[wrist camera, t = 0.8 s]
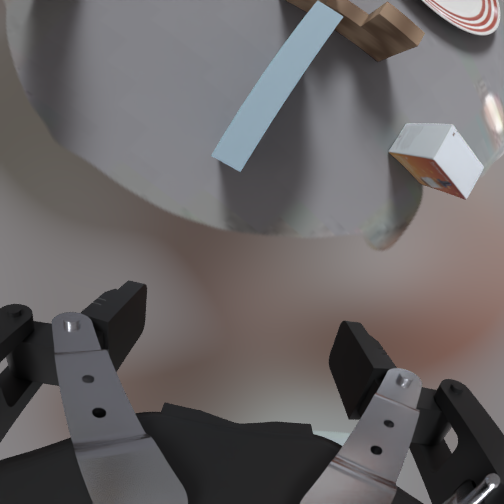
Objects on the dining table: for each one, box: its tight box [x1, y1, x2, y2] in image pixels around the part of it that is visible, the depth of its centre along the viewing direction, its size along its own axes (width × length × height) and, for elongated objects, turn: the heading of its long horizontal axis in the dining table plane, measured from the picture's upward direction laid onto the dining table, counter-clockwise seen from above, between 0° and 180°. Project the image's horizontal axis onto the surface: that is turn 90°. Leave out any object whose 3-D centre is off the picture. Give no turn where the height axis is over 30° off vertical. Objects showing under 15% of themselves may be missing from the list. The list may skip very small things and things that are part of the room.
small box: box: [388, 123, 484, 200], centre depth 32 cm, size 8×6×10 cm
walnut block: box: [286, 0, 425, 62], centre depth 25 cm, size 16×2×10 cm, turn 59°
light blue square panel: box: [211, 0, 343, 172], centre depth 26 cm, size 2×16×15 cm, turn 149°
